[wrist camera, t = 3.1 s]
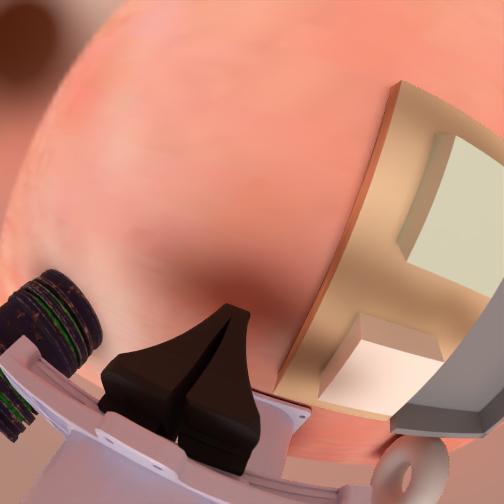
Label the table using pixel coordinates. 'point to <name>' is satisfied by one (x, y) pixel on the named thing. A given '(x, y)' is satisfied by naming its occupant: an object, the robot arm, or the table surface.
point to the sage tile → (458, 217)
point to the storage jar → (45, 337)
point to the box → (463, 385)
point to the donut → (423, 471)
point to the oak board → (388, 250)
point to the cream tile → (379, 366)
